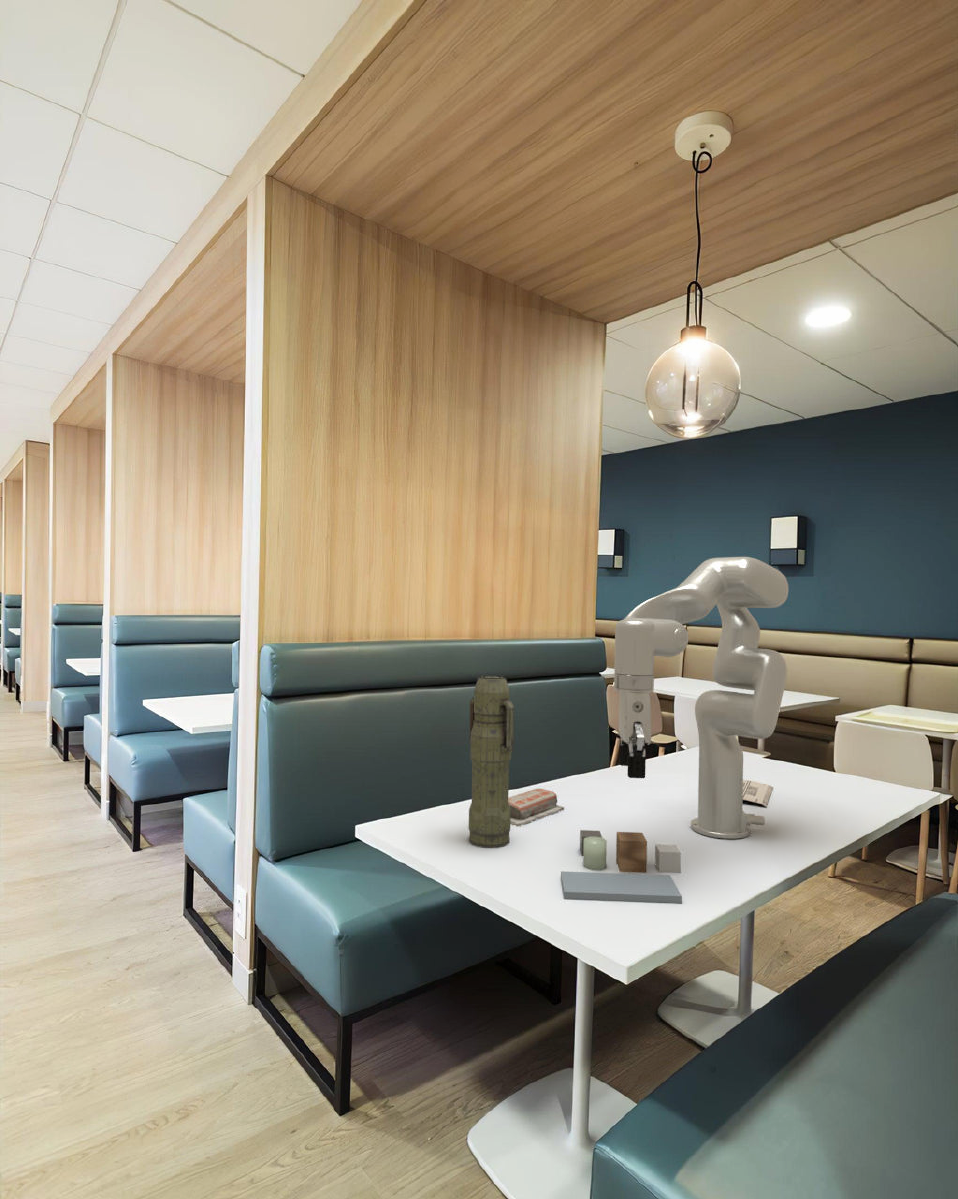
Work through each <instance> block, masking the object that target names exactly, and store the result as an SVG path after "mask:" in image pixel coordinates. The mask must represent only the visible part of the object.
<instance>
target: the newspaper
mask: <svg viewBox="0 0 958 1199" xmlns="http://www.w3.org/2000/svg"><path fill="white" fill-rule="evenodd" d="M773 789H774V786H772V785H771V784H770V785H769V784H766V783H762V782H757V781H754V780H753V781H752V780H748V779H743V801H747V802H751V803H754V804H759V805H761V806H764V808H767V807H768V806H769V805H768V804H769V802H770V799H771V795H772V792H773ZM742 805H743V802H742Z"/></svg>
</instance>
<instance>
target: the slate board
mask: <svg viewBox="0 0 958 1199" xmlns="http://www.w3.org/2000/svg"><path fill="white" fill-rule="evenodd" d="M560 882H561V887H562V892H563V897H564V900H585V901H586V900H587V901H609V902H610V901H612V902H613V901H616V902H642V903H663V904H664V903H665V904H683V895H682V894H681V892H680V891H679V890H680V889H679V888H678V887H677V884H676V883H675V882H674V879H673V878H672V876H671V875H669V874H667V875H666V874H646V873H644V874H643V873H639V874H637V873H621V872H619V873H616V872H614V873H613V872H611V873H610V872H591V871H590V872H589V871H587V872H586V871H585V872H584V871H566V870H564V871H560Z"/></svg>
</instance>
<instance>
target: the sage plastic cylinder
mask: <svg viewBox="0 0 958 1199" xmlns="http://www.w3.org/2000/svg"><path fill="white" fill-rule="evenodd" d="M607 841H608V840H607V839H605V838H604V837H602V838H601V837H594V836H592V837H586V838H584V851H583V856H582V857H583V858H582V859H583V861H582V864H583V865H582V866H583V867H584V869H587V870H590V871H603V870H605V869H607V850H608V849H607Z"/></svg>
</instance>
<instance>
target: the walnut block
mask: <svg viewBox="0 0 958 1199" xmlns="http://www.w3.org/2000/svg"><path fill="white" fill-rule="evenodd" d="M615 844H616V849H615V850H616V852H615V863H616V865H618V866H617V868H618V870H619V873H635V874H637V873H639V874H643V873H644V874H646V873H647V865H648V863H647V862H648V856H647V855H648V841H647V839H646V837H645V835H644V834H643V832H634V831H633V832H630V831H626V832H625V831H616V843H615Z"/></svg>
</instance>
